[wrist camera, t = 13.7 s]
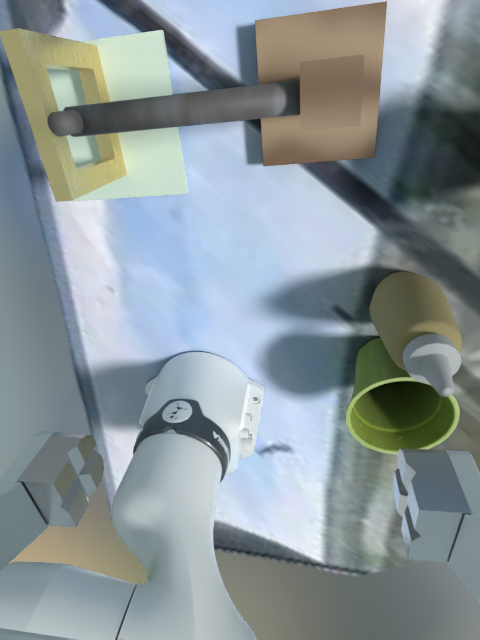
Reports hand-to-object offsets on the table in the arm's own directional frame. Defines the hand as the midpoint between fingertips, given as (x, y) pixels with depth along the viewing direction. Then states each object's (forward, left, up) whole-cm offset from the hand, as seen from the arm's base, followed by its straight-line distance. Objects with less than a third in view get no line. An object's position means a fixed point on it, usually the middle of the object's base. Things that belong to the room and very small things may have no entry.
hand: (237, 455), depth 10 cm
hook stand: (+8, +2, -37) cm, 38 cm away
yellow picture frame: (+8, +19, -36) cm, 42 cm away
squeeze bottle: (-14, -13, -37) cm, 42 cm away
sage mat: (+7, +19, -37) cm, 42 cm away
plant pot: (-24, -12, -37) cm, 46 cm away
